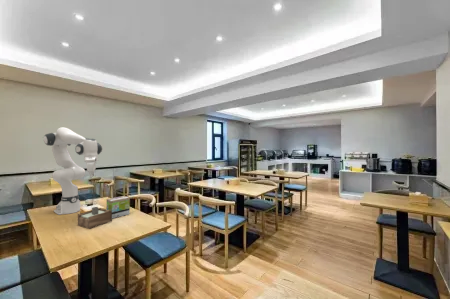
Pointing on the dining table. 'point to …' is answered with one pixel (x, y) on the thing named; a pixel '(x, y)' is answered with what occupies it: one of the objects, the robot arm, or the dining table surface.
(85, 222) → the caddy
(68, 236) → the dining table surface
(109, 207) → the tea box
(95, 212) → the lid
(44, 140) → the robot arm
